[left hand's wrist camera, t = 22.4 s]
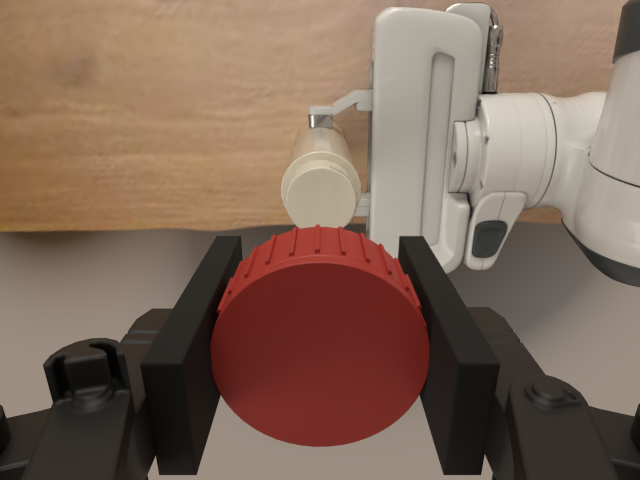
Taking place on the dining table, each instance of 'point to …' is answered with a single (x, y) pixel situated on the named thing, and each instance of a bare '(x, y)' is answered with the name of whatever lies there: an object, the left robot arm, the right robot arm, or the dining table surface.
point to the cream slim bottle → (320, 179)
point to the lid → (320, 338)
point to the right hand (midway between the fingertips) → (309, 155)
